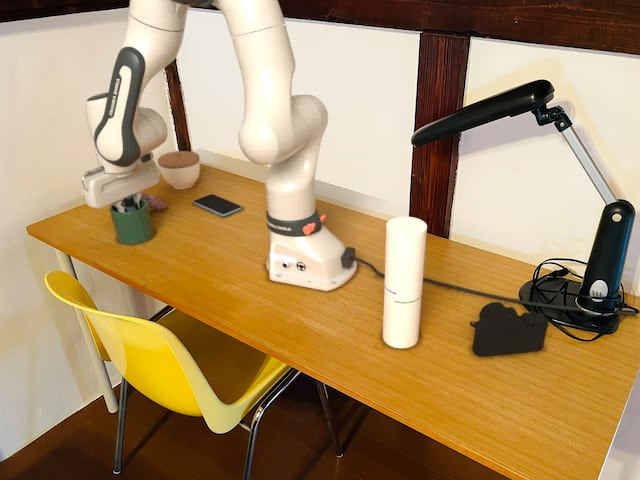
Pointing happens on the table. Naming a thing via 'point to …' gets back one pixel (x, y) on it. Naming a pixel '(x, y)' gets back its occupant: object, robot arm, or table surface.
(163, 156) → the lidded bowl
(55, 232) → the table surface
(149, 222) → the pen cup
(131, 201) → the vaping device
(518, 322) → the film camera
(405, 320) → the cylindrical container
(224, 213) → the smartphone
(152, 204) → the video game controller
